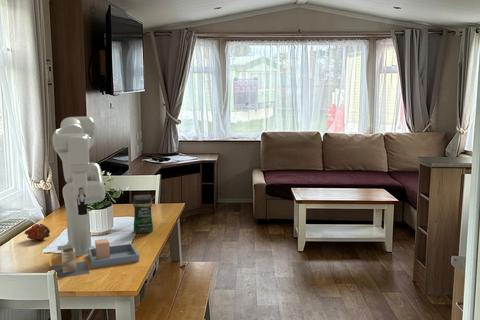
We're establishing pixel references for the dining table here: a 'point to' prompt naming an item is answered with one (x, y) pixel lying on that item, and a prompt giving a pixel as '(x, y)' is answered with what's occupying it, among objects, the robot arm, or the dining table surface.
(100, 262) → the slate bin
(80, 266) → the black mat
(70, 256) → the birch box
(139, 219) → the coffee jar
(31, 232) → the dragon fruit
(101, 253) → the terracotta box
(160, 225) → the dining table surface
